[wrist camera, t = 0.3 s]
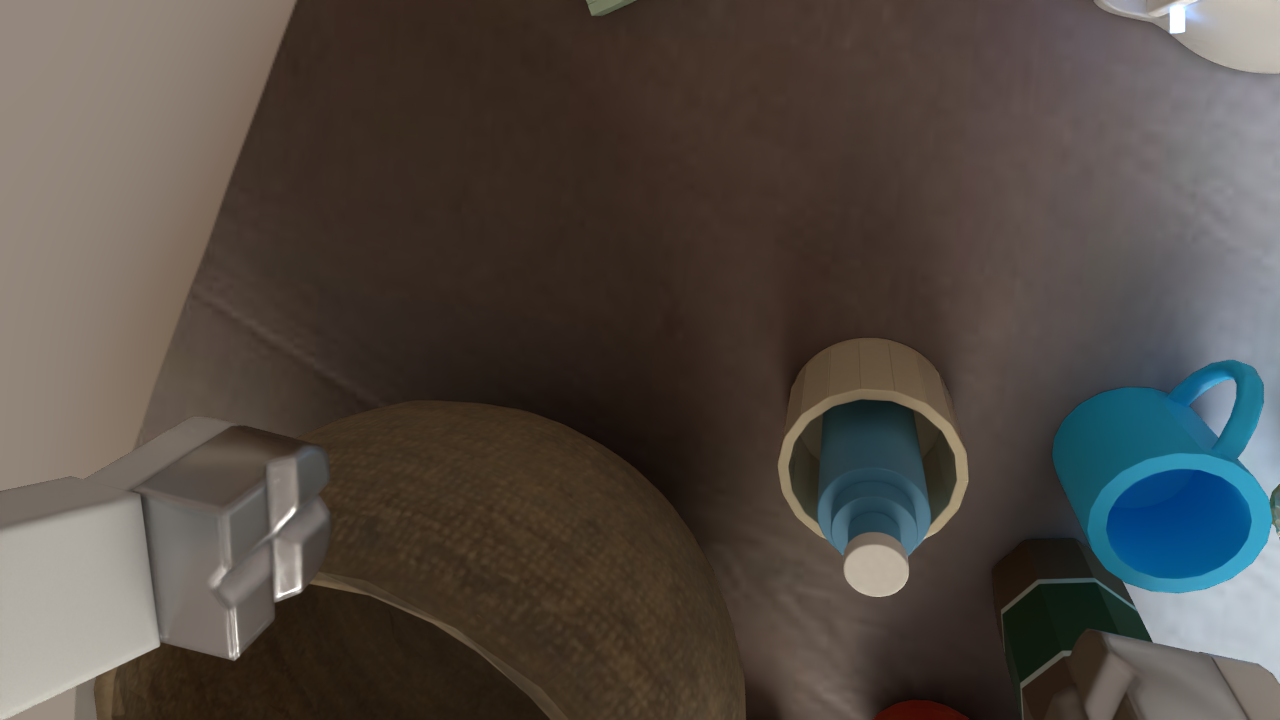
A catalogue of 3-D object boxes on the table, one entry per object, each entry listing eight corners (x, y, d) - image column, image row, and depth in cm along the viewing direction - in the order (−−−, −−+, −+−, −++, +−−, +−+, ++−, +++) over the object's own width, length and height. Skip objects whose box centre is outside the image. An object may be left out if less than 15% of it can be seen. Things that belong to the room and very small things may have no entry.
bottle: (811, 388, 51) (797, 532, 37) (899, 365, 49) (921, 506, 35) (837, 463, 53) (834, 629, 38) (924, 444, 51) (954, 610, 36)
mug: (1147, 531, 50) (1198, 618, 43) (1024, 472, 51) (1054, 547, 43) (1287, 371, 45) (1373, 438, 38) (1149, 306, 46) (1208, 360, 38)
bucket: (766, 362, 52) (753, 416, 45) (927, 317, 49) (941, 367, 42) (813, 494, 55) (808, 565, 47) (969, 460, 51) (989, 531, 44)
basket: (727, 786, 66) (630, 1179, 44) (342, 633, 73) (96, 909, 51) (853, 412, 50) (797, 745, 28) (344, 261, 57) (-15, 435, 35)
